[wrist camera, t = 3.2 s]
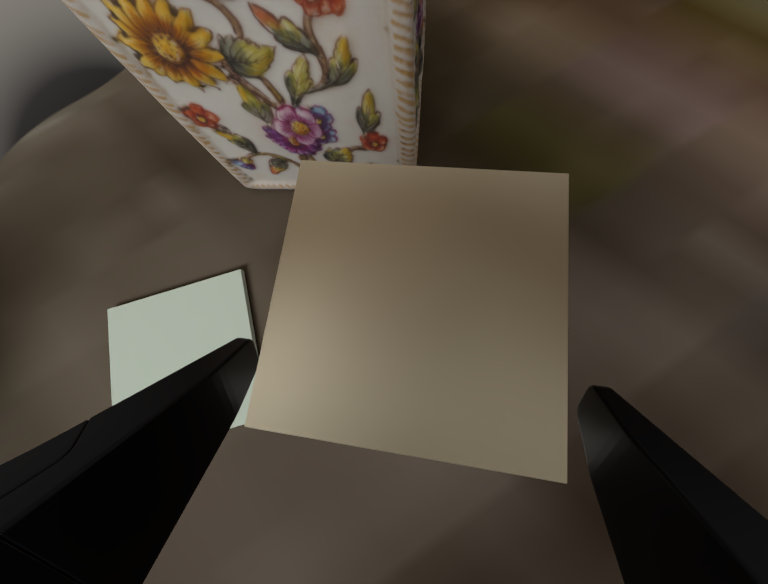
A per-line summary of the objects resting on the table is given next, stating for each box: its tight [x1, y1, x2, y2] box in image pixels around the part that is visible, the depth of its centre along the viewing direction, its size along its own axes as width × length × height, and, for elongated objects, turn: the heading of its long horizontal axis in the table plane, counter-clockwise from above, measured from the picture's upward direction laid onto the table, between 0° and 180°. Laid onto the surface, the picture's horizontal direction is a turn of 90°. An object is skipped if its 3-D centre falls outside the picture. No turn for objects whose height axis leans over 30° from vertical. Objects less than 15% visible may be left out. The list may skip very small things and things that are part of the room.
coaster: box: [108, 269, 259, 428], centre depth 18 cm, size 9×9×1 cm
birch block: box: [244, 160, 569, 484], centre depth 11 cm, size 5×5×12 cm
